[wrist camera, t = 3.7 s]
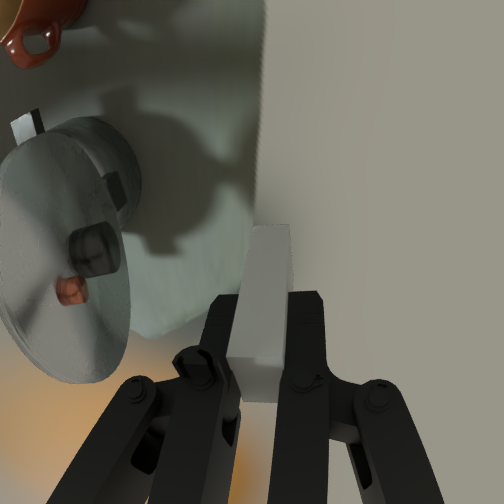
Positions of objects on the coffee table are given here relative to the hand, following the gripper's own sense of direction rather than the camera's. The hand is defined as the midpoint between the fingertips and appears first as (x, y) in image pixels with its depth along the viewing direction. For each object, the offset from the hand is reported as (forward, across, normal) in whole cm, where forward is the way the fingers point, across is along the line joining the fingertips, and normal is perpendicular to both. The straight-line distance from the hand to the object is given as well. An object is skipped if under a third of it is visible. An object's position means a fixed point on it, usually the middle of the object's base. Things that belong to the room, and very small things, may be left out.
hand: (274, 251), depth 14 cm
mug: (+17, -19, +19) cm, 31 cm away
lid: (+1, -12, 0) cm, 12 cm away
